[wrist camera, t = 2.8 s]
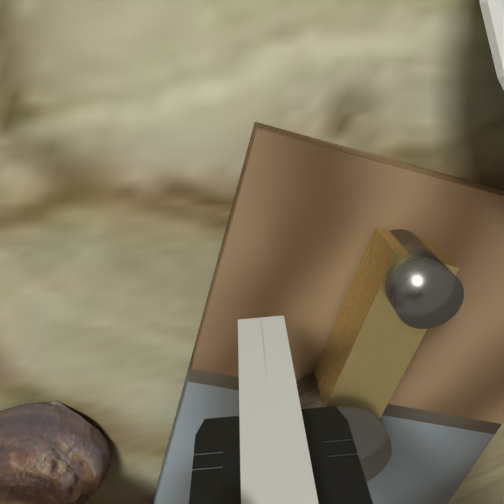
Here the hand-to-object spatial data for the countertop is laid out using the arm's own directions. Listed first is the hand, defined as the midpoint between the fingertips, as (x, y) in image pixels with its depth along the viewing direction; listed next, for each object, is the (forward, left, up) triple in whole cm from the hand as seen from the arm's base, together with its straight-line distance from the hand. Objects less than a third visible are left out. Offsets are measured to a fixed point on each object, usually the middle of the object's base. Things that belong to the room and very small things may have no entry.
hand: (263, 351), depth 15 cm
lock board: (+7, -6, -7) cm, 11 cm away
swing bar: (+5, -2, -5) cm, 7 cm away
